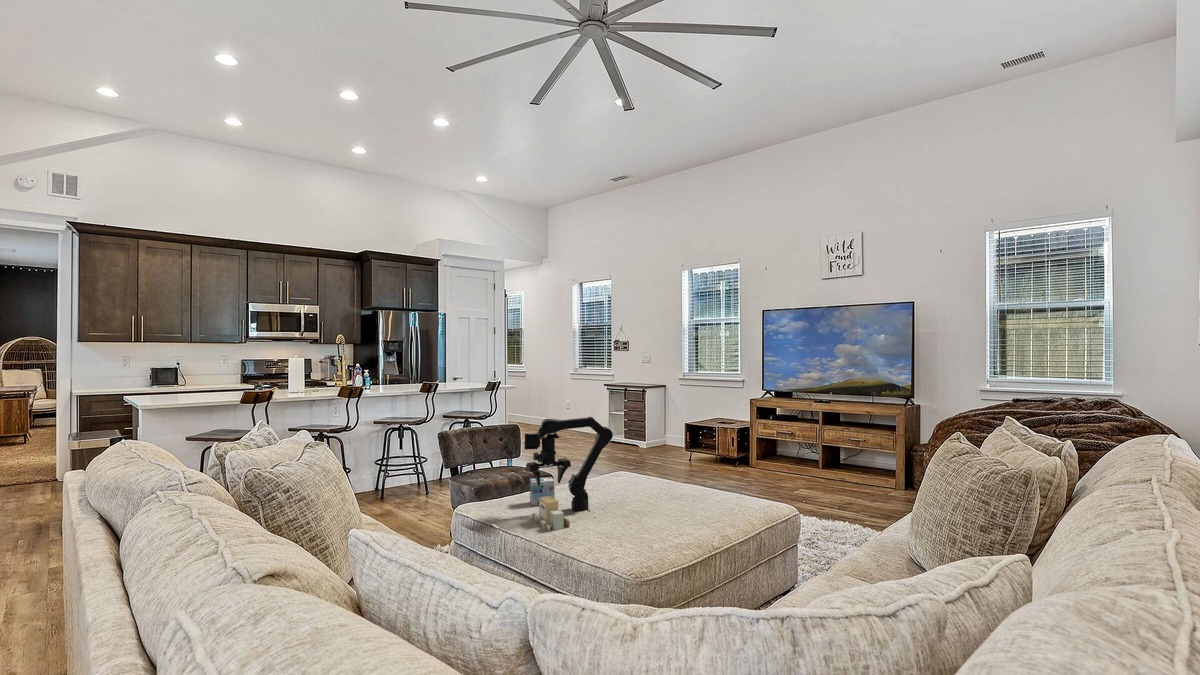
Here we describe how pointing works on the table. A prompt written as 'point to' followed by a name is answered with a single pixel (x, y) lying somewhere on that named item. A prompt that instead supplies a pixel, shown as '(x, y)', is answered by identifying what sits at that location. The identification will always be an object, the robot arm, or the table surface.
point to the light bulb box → (541, 489)
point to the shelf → (545, 525)
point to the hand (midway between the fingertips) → (548, 484)
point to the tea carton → (547, 507)
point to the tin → (556, 519)
